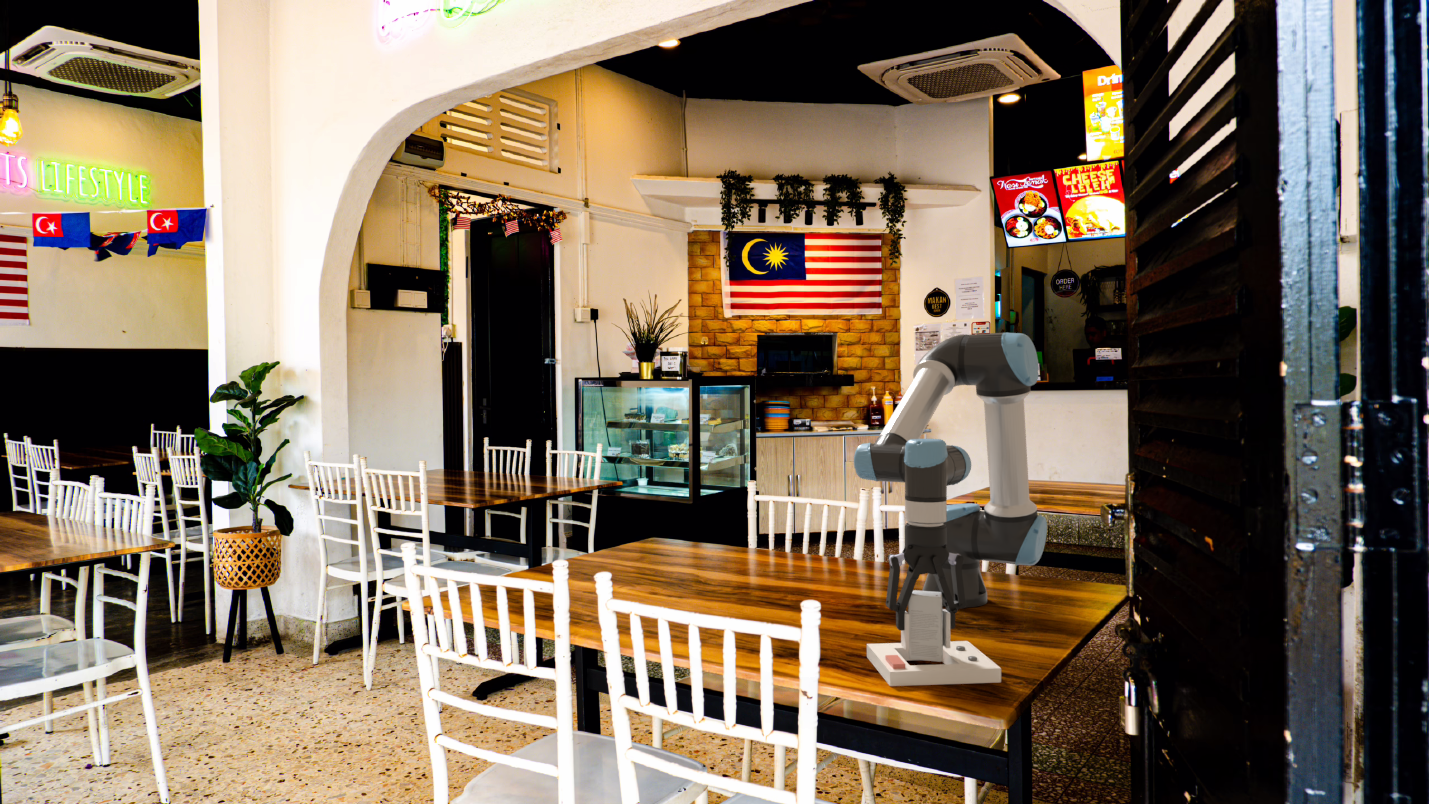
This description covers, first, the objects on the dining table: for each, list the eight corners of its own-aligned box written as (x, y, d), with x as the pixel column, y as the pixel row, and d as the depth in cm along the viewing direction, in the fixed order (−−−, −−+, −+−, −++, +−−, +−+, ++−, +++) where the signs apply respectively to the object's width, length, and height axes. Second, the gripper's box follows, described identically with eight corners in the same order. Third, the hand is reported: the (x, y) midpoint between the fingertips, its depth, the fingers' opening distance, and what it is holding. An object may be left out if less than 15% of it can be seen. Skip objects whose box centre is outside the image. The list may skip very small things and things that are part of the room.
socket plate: (967, 653, 166) (967, 636, 166) (1001, 682, 151) (1001, 663, 150) (866, 656, 165) (866, 639, 165) (890, 686, 149) (889, 667, 149)
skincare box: (943, 655, 159) (943, 591, 158) (941, 662, 155) (941, 597, 154) (910, 652, 161) (910, 589, 160) (907, 659, 157) (907, 594, 156)
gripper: (970, 518, 162) (970, 639, 162) (867, 520, 160) (867, 642, 161) (986, 525, 154) (985, 651, 155) (878, 527, 153) (878, 654, 153)
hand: (925, 646), depth 158 cm, fingers closed on skincare box, 7 cm apart
